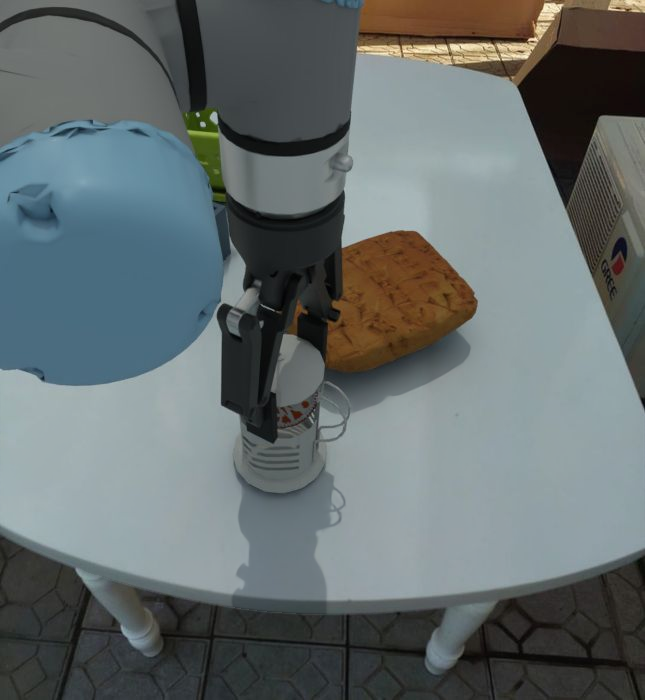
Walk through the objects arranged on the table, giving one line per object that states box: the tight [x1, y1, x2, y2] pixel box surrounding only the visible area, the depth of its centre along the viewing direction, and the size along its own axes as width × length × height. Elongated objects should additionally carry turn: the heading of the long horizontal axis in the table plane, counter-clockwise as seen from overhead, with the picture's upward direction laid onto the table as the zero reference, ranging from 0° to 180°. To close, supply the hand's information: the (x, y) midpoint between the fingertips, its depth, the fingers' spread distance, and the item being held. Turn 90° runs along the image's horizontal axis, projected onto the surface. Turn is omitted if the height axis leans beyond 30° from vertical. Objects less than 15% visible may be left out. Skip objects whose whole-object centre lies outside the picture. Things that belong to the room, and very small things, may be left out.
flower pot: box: [181, 107, 226, 203], centre depth 88 cm, size 14×14×13 cm
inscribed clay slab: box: [273, 229, 479, 374], centre depth 71 cm, size 22×17×8 cm
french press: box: [232, 311, 352, 494], centre depth 52 cm, size 10×12×25 cm
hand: (287, 398), depth 54 cm, fingers closed on french press, 8 cm apart
